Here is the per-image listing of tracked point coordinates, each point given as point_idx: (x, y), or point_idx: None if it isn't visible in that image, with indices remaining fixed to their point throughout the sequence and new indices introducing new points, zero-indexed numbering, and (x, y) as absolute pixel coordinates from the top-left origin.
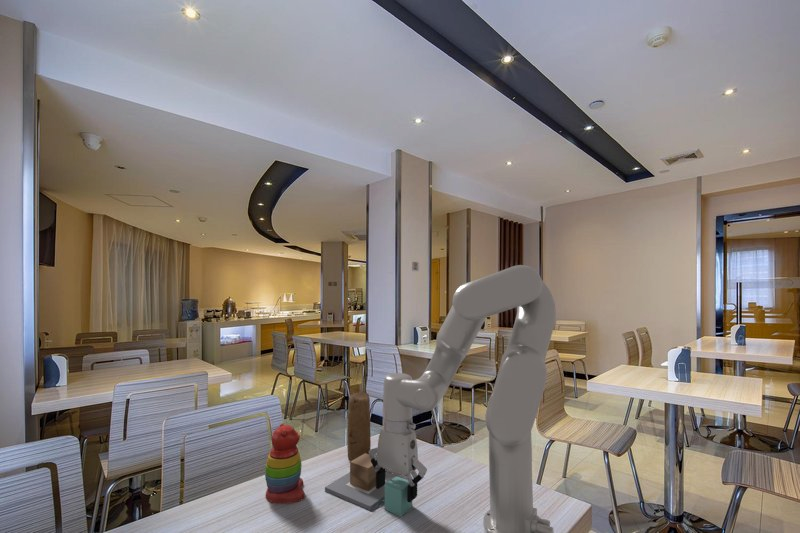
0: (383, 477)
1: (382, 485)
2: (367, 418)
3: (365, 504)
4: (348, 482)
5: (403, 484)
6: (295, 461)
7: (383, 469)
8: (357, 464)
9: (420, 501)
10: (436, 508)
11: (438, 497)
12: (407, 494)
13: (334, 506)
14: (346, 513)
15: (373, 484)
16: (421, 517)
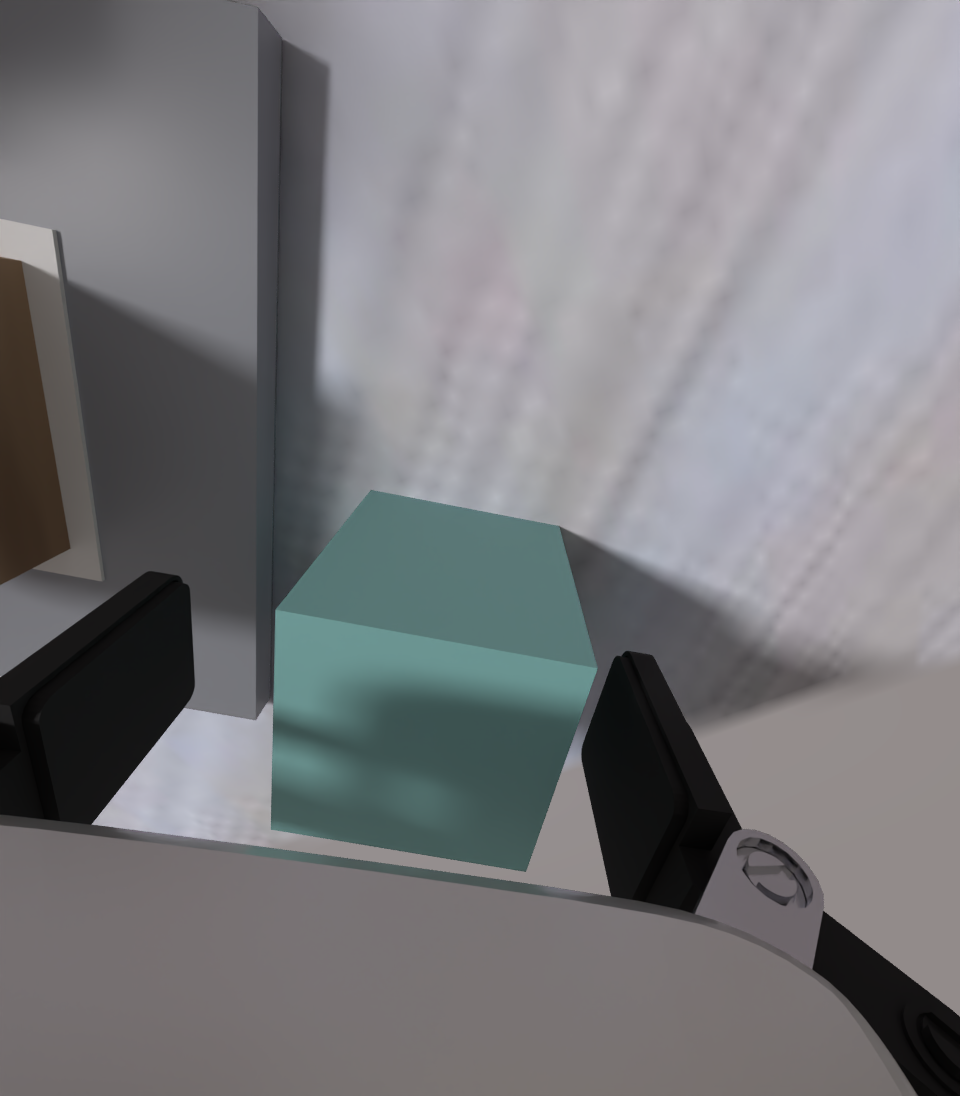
0: (124, 674)
1: (186, 631)
2: None
3: (201, 708)
4: None
5: (497, 761)
6: None
7: (5, 733)
8: None
9: (614, 420)
10: (804, 474)
11: (813, 244)
12: (596, 815)
13: None
14: (149, 767)
15: (25, 477)
16: (682, 639)
